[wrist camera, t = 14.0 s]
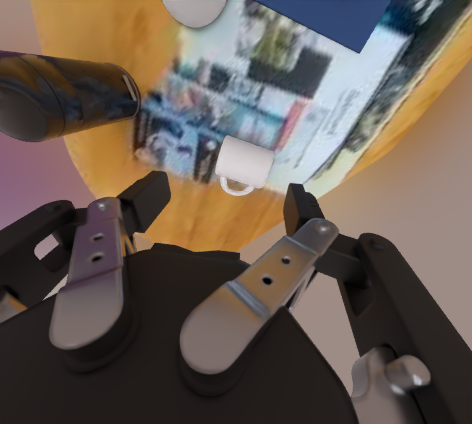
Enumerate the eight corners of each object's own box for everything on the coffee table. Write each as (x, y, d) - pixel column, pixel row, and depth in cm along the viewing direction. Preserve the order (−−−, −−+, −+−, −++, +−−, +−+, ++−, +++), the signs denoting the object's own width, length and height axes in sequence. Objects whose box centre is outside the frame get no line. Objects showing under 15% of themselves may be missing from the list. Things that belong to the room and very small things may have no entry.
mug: (229, 130, 38) (221, 140, 31) (273, 146, 38) (275, 159, 32) (216, 180, 45) (208, 196, 38) (254, 192, 45) (252, 211, 39)
